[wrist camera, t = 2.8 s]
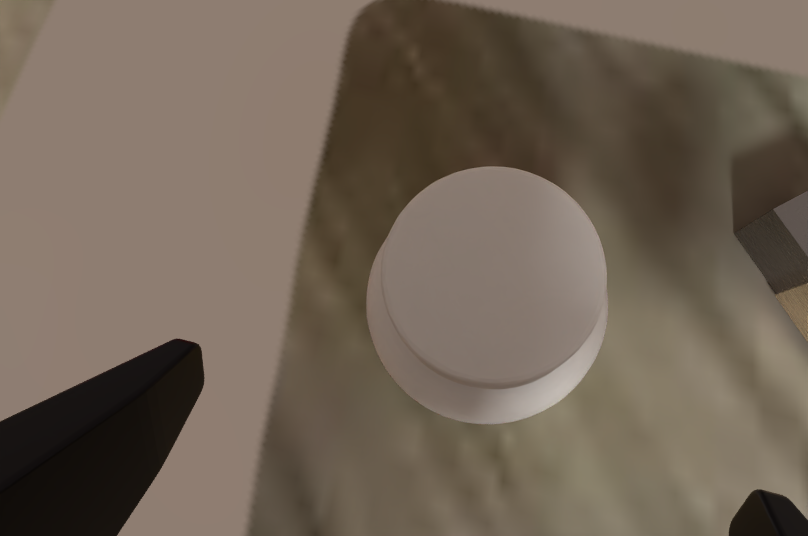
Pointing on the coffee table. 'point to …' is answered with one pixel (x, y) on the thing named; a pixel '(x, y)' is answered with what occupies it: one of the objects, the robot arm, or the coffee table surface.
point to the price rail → (783, 255)
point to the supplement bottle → (489, 296)
